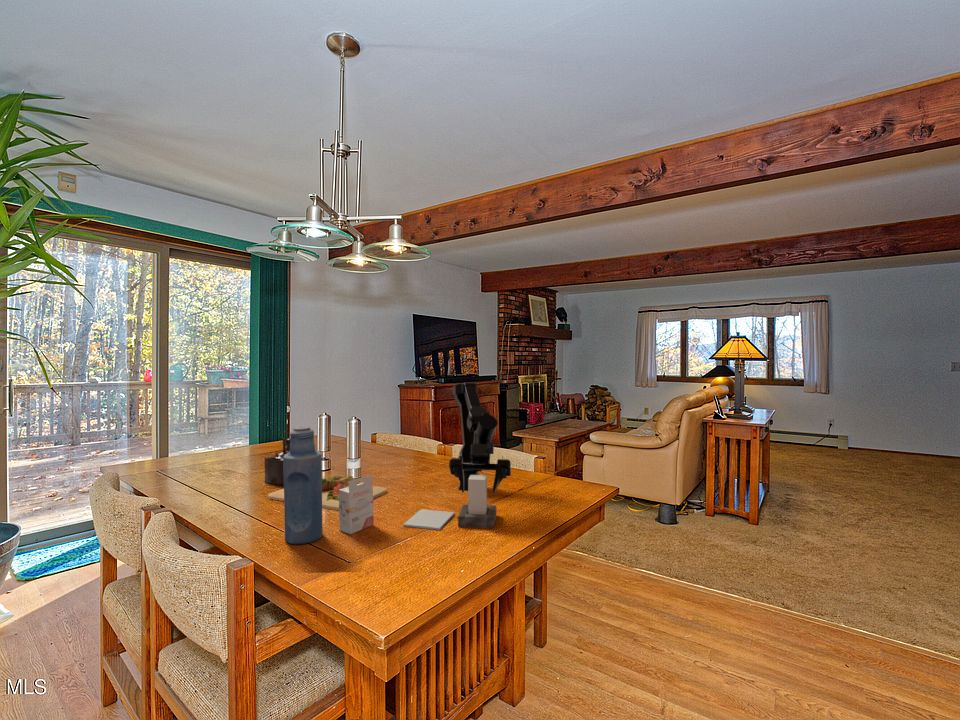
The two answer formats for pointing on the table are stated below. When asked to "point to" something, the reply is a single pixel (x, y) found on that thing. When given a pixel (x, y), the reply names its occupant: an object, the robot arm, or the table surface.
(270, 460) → the black box
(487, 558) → the table surface
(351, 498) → the ink cartridge box
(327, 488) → the cutting board
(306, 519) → the bottle
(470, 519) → the block
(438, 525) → the rubber mat
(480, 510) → the off-white block
